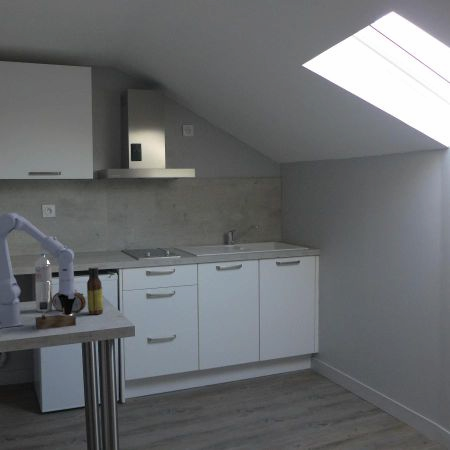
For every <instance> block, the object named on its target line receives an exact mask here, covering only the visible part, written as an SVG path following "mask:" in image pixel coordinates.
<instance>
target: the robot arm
mask: <svg viewBox="0 0 450 450" xmlns="http://www.w3.org/2000/svg"><path fill="white" fill-rule="evenodd" d="M14 230H15V231H20V232H21V231H22V232H24V233H26V234H27V235H29V236H31V238H34V240H36V241H38V242H39V243H40V244H41V248H42V249H43V250H44V251H46V252H47V253H48V254H50V255H51V256H52V257H54V258H56V260H57V263H58V292H59V293H60V294H61V295H58V298H59V300H60V302H61V306H62V310H63V307H64V311H65V314H66V315H68V314H71V313H73V312H72V307H73V303H74V301H75V299H76V297H74V292H77V293H78V289H75V273H74V259H75V252H74V251H73V250H72V248H70V247H68V246H67V245H66V244H65V245H64V244H62V243H61V242H60V241H59V240H58V238H57V237H56V236H54V237H53V236H52V235H51V236H50V235H48V236H47V235H46V234H44V233H43V232H42V231H41V230H39V229H38V228H37V227H36V226H35V225H34V224H32V223H31V222H30V221H29V220H28V219H26V218H25V217H24V216H22V215H20V214H19V213H18V212H15V211H12V212H9V213H4V214H2V215H0V329H5V328H12V327H20V326H23V323H22V321H21V307H20V299H19V296H20V295H21V292H22V291H21V288H20V286H19V285H18V282H17V279H16V277H15V276H14V272H13V271H14V270H13V266H12V261H11V256H10V251H9V249H10V248H9V244H8V239H7V237H8V236H9V235H10V234H11V233H12V232H13V231H14Z"/></svg>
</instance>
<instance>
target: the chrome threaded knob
mask: <svg viewBox="0 0 450 450" xmlns="http://www.w3.org/2000/svg"><path fill="white" fill-rule="evenodd" d="M39 305H40V308H38V309H37V310H36V312H38V313H41V317H42V319H45V316H46V313H47V312H46V311H49V312H51V311H50V308H49V307H48V302H39Z"/></svg>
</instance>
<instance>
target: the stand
mask: <svg viewBox="0 0 450 450" xmlns="http://www.w3.org/2000/svg"><path fill="white" fill-rule="evenodd" d="M34 318H35V320H34V321H35V326H36V328H37V329H38V330H46V329H55V328H62V327H64V326H65V327H70V326H76V325H77V321H76V318H77V317H76V316H75V315H73V316H70V317H61V316H60V314H53V315H45V319H42V316H38V317H37V316H36V317H34Z"/></svg>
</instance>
